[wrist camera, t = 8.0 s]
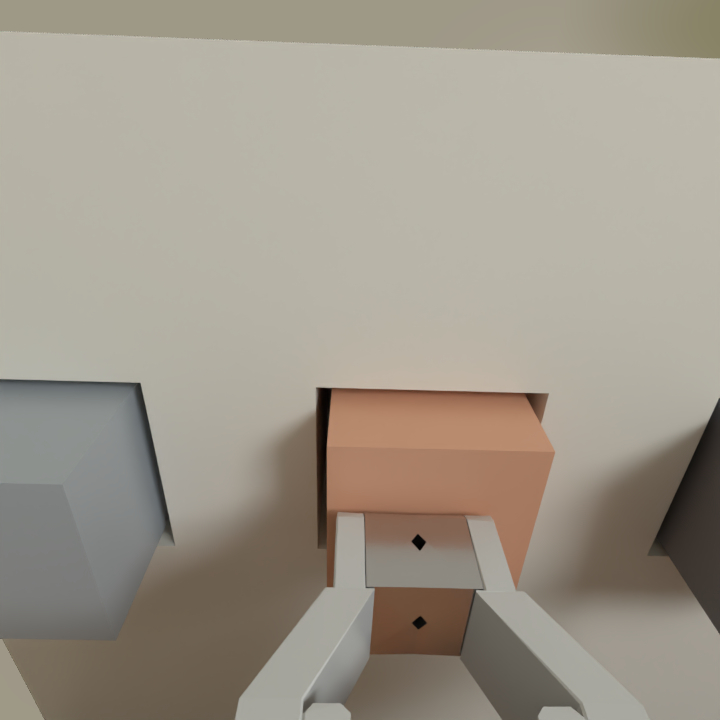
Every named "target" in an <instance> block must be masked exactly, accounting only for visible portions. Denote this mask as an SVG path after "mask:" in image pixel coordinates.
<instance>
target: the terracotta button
mask: <svg viewBox="0 0 720 720" xmlns="http://www.w3.org/2000/svg"><path fill="white" fill-rule="evenodd" d="M554 455H555V450H554V448H553V446H552V445H551V443H550V441H549V439H548V437H547V435H546V433H545V431H544V429H543V428H542V426H541V424H540V422H539V420H538V418H537V416H536V414H535V412H534V411H533V409H532V407H531V405H530V403H529V401H528V399H527V397H526V395H525V394H524V393H512V392H474V391H436V390H398V389H360V388H332V394H331V405H330V416H329V428H328V439H327V587H333V581H334V559H335V538H336V518H337V513H338V512H350V513H363V514H364V513H381V514H401V515H462V516H464V515H474V516H491V518H492V519H493V520H494V523H495V526H496V529H497V532H498V536H499V539H500V542H501V545H502V548H503V551H504V554H505V558H506V561H507V564H508V567H509V570H510V573H511V576H512V579H513V583H514V586H515V589H517V585H518V582H519V578H520V575H521V571H522V568H523V564H524V561H525V557H526V554H527V550H528V547H529V543H530V539H531V536H532V532H533V529H534V525H535V522H536V518H537V515H538V511H539V508H540V504H541V501H542V497H543V494H544V490H545V487H546V483H547V480H548V476H549V473H550V469H551V466H552V462H553V459H554Z"/></svg>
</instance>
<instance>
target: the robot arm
mask: <svg viewBox="0 0 720 720" xmlns="http://www.w3.org/2000/svg"><path fill="white" fill-rule="evenodd" d="M383 654H422V655H444V656H460V660H461V661H462V662H463V664H464V665H465V667H466V668H467V670H468V671H469V673H470V674H471V675H472V677H473V678H474V680H475V681H476V683H477V684H478V686H479V687H480V688H481V690H482V691H483V693H484V694H485V696H486V697H487V699H488V700H489V701H490V703H491V704H492V706H493V707H494V709H495V710H496V712H497V713H498V714H499V716H500V717H501V719H502V720H650V719H649V717H648V715H647V713H646V710H645V708H644V706H643V705H642V704H641V703H640V702H639V701H638V700H637V699H636V698H635V697H634V696H633V695H632V694H631V693H629V692H628V691H627V690H626V689H625V688H624V687H623V686H622V685H621V684H620V683H619V682H618V681H617V680H616V679H615V678H614V677H613V676H612V675H611V674H610V673H609V672H608V671H607V670H606V669H605V668H603V667H602V666H601V665H600V664H599V663H598V662H597V661H596V660H595V659H594V658H593V657H592V656H591V655H590V654H589V653H588V652H587V651H586V650H585V649H584V648H583V647H582V646H581V645H580V644H579V643H578V642H576V641H575V640H574V639H573V638H572V637H571V636H570V635H569V634H568V633H567V632H566V631H565V630H564V629H563V628H562V627H561V626H560V625H559V624H558V623H557V622H556V621H555V620H554V619H553V618H552V617H550V616H549V615H548V614H547V613H546V612H545V611H544V610H543V609H542V608H541V607H540V606H539V605H538V604H537V603H536V602H535V601H534V600H533V599H532V598H531V597H530V596H529V595H528V594H527V593H526V592H525V591H516V589H515V586H514V583H513V579H512V576H511V573H510V570H509V567H508V564H507V561H506V558H505V554H504V551H503V548H502V545H501V542H500V539H499V536H498V532H497V529H496V526H495V523H494V520H493V519H492V518H491V516H474V515H464V516H462V515H401V514H381V513H364V514H363V513H350V512H338V513H337V518H336V538H335V559H334V581H333V587H325V588H324V589H323V591H322V592H321V593H320V595H319V596H318V597H317V598H316V600H315V601H314V602H313V604H312V605H311V606H310V608H309V609H308V610H307V611H306V613H305V614H304V615H303V617H302V618H301V619H300V620H299V622H298V623H297V624H296V626H295V627H294V628H293V630H292V631H291V632H290V633H289V635H288V636H287V637H286V639H285V640H284V641H283V642H282V644H281V645H280V646H279V648H278V649H277V650H276V652H275V653H274V654H273V655H272V657H271V658H270V659H269V661H268V662H267V663H266V664H265V666H264V667H263V668H262V670H261V671H260V672H259V674H258V675H257V676H256V677H255V679H254V680H253V681H252V683H251V684H250V685H249V686H248V688H247V689H246V690H245V692H244V693H243V694H242V696H241V697H240V698H239V701H238V707H237V712H236V717H235V720H351V713H350V712H349V711H348V710H347V709H346V708H345V707H344V705H345V703H346V701H347V699H348V697H349V695H350V693H351V691H352V690H353V688H354V686H355V684H356V682H357V680H358V678H359V676H360V675H361V673H362V671H363V669H364V667H365V665H366V663H367V661H368V660H369V656H370V655H383Z"/></svg>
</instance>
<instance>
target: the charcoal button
mask: <svg viewBox="0 0 720 720" xmlns="http://www.w3.org/2000/svg"><path fill="white" fill-rule="evenodd" d="M656 538H657V539H658V541H659V542H660V544H661V545H662V547H663V548H664V550H665V551H666V553H667V554H668V556H669V558H670V559H671V561H672V562H673V564H674V565H675V567H676V568H677V570H678V571H679V573H680V574H681V576H682V577H683V579H684V581H685V582H686V584H687V585H688V587H689V588H690V590H691V591H692V593H693V594H694V596H695V597H696V599H697V601H698V602H699V604H700V605H701V607H702V608H703V610H704V611H705V613H706V614H707V616H708V617H709V619H710V620H711V622H712V624H713V625H714V627H715V628H716V630H717V631H718V633H719V634H720V398H719V399H718V402H717V404H716V406H715V408H714V410H713V413H712V415H711V417H710V419H709V421H708V424H707V426H706V428H705V430H704V432H703V434H702V437H701V439H700V441H699V443H698V445H697V448H696V450H695V452H694V454H693V456H692V458H691V461H690V463H689V465H688V467H687V469H686V472H685V474H684V476H683V478H682V480H681V483H680V485H679V487H678V489H677V491H676V493H675V496H674V498H673V500H672V502H671V504H670V507H669V509H668V511H667V513H666V515H665V517H664V520H663V522H662V524H661V526H660V528H659V531H658V533H657V535H656Z"/></svg>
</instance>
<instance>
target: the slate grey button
mask: <svg viewBox="0 0 720 720" xmlns="http://www.w3.org/2000/svg"><path fill="white" fill-rule="evenodd" d="M168 520H169V513H168V509H167V504H166V499H165V495H164V490H163V485H162V481H161V476H160V471H159V467H158V462H157V457H156V453H155V448H154V443H153V438H152V434H151V429H150V424H149V420H148V415H147V410H146V406H145V401H144V396H143V392H142V387H141V383H132V382H94V381H56V380H18V379H0V639H53V640H110V641H116V639H117V637H118V635H119V632H120V630H121V628H122V626H123V623H124V621H125V619H126V616H127V614H128V612H129V609H130V607H131V605H132V602H133V600H134V598H135V596H136V593H137V591H138V589H139V586H140V584H141V582H142V579H143V577H144V575H145V573H146V570H147V568H148V566H149V563H150V561H151V559H152V556H153V554H154V552H155V549H156V547H157V545H158V543H159V540H160V538H161V536H162V533H163V531H164V529H165V526H166V524H167V522H168Z"/></svg>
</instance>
